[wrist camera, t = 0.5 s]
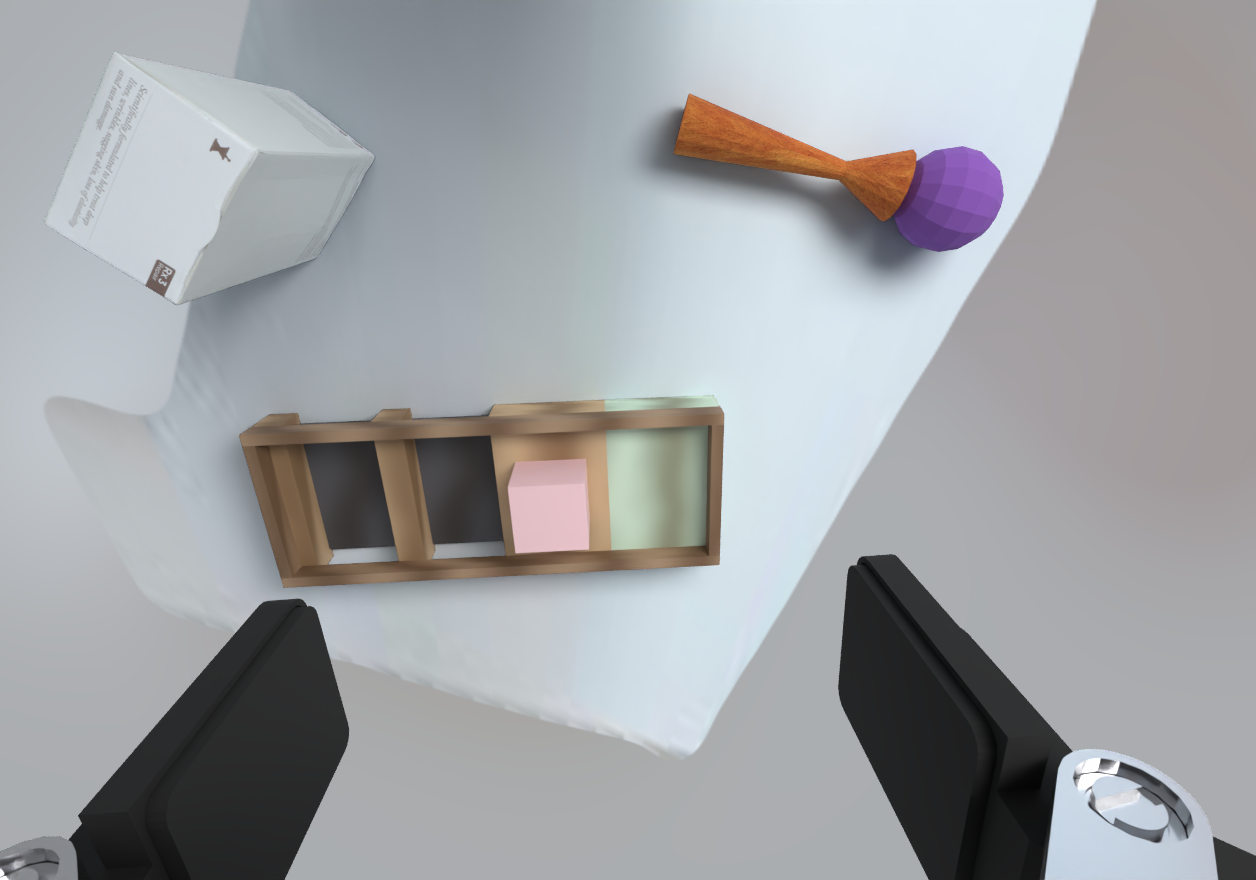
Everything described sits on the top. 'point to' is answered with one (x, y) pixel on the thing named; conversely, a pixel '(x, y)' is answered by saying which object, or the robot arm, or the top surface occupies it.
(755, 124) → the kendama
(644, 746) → the top surface
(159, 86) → the skincare box
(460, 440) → the box
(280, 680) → the robot arm
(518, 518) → the rose block
